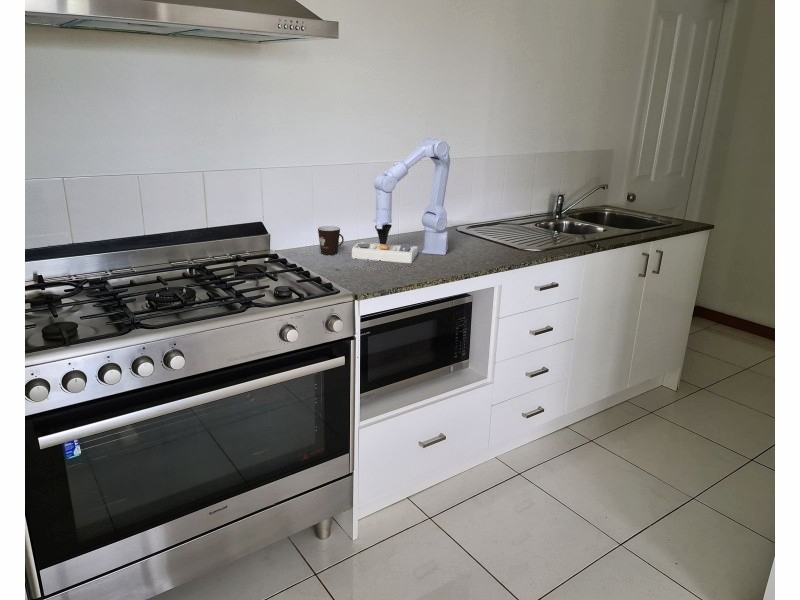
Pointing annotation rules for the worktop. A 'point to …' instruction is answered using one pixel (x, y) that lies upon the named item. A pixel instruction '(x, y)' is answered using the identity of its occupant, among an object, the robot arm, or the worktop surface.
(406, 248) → the rocker
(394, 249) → the power strip
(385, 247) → the rocker middle
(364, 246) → the rocker
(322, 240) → the coffee mug
